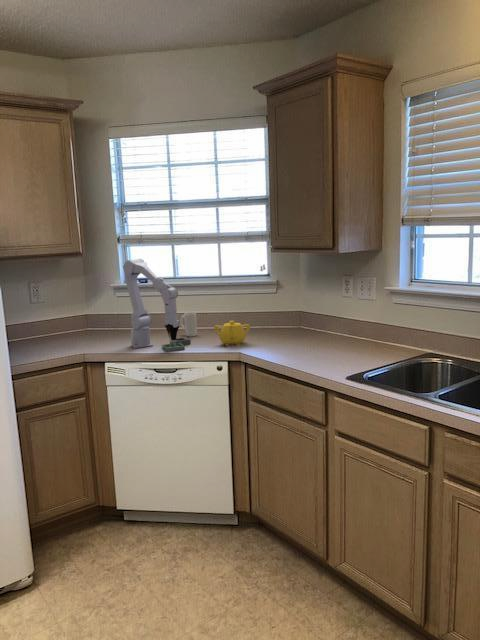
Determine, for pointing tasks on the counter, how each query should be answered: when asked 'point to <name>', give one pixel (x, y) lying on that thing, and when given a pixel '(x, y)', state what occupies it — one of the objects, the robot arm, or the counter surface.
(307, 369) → the counter surface
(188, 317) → the mug
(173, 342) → the small bottle
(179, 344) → the tray
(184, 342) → the block
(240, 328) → the teapot
